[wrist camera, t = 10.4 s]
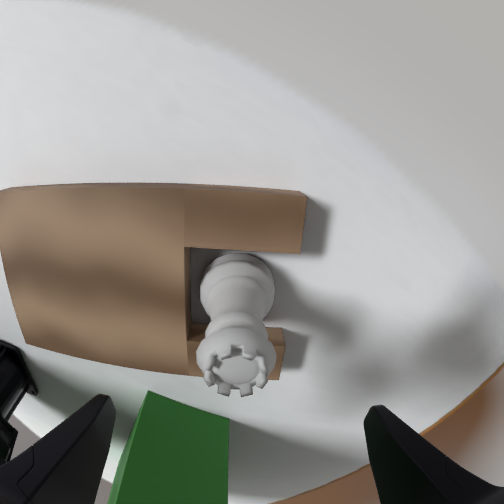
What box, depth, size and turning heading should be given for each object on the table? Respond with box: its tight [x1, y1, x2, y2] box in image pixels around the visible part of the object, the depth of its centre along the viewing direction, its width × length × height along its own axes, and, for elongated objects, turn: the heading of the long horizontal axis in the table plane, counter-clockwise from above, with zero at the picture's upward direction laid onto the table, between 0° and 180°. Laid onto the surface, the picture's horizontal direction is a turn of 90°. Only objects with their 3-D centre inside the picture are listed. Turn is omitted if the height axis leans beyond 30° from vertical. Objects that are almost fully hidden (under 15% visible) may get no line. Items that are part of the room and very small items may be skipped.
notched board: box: [0, 183, 307, 380], centre depth 16 cm, size 12×20×2 cm, turn 86°
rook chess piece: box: [196, 253, 277, 397], centre depth 14 cm, size 4×4×8 cm
